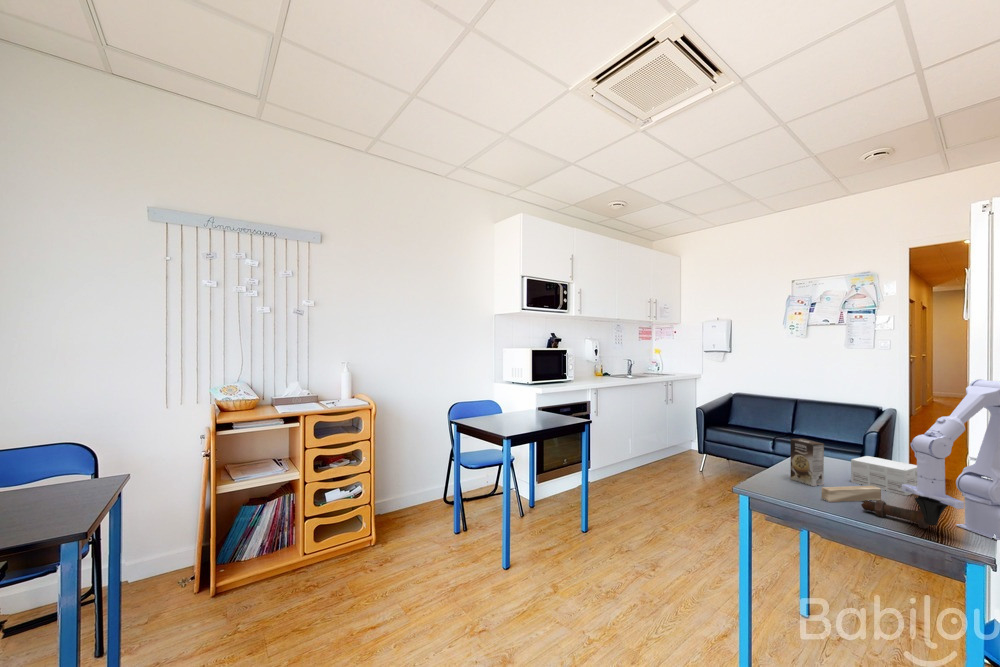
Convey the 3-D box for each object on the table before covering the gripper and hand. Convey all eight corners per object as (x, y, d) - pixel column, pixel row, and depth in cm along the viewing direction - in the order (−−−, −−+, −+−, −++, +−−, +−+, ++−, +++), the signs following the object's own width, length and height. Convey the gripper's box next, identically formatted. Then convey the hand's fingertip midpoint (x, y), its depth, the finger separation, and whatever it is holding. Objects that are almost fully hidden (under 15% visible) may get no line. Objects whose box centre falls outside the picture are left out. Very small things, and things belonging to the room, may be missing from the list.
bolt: (864, 515, 138) (928, 531, 125) (858, 510, 135) (923, 526, 123) (866, 498, 139) (930, 512, 127) (861, 492, 137) (925, 506, 125)
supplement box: (923, 491, 157) (923, 465, 157) (906, 496, 151) (906, 470, 151) (867, 477, 172) (867, 454, 172) (850, 482, 166) (850, 458, 166)
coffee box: (789, 479, 169) (789, 438, 169) (801, 477, 171) (801, 437, 171) (812, 486, 160) (812, 444, 160) (824, 485, 162) (824, 442, 162)
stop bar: (881, 500, 147) (880, 488, 147) (829, 502, 144) (829, 490, 145) (872, 496, 150) (872, 485, 150) (821, 498, 147) (821, 487, 148)
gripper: (892, 470, 130) (893, 514, 129) (948, 486, 115) (949, 536, 115) (912, 469, 130) (913, 513, 130) (970, 485, 116) (971, 535, 116)
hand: (931, 524), depth 123 cm, fingers closed
